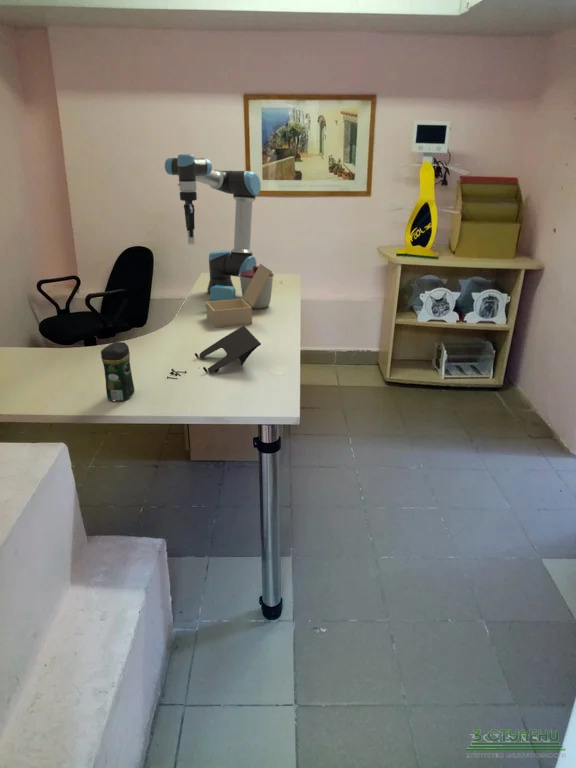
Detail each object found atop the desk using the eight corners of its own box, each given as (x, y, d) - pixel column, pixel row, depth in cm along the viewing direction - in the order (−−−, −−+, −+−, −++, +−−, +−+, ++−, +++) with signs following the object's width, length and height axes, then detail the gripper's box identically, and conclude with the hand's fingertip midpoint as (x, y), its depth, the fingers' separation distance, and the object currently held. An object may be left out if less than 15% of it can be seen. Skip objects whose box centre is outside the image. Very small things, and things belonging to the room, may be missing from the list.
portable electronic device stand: (203, 368, 231) (192, 350, 227) (251, 339, 234) (241, 321, 229) (217, 390, 211) (204, 371, 207) (269, 358, 214) (258, 338, 209)
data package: (236, 309, 288) (235, 286, 283) (232, 312, 284) (231, 288, 279) (214, 307, 291) (213, 284, 287) (210, 310, 288) (209, 286, 283)
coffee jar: (116, 389, 197) (109, 339, 190) (137, 391, 196) (131, 340, 188) (103, 401, 188) (95, 349, 181) (125, 403, 187) (119, 350, 180)
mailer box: (206, 318, 275) (206, 301, 272) (242, 314, 280) (242, 298, 277) (214, 327, 261) (213, 310, 258) (252, 323, 267) (251, 307, 263)
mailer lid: (260, 263, 274) (261, 264, 274) (242, 297, 277) (243, 298, 278) (270, 270, 260) (271, 271, 260) (252, 306, 263) (253, 306, 263)
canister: (252, 313, 283) (252, 271, 274) (232, 305, 295) (231, 264, 287) (281, 307, 293) (281, 266, 284) (260, 299, 306) (260, 260, 297)
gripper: (177, 190, 261) (180, 242, 270) (182, 192, 250) (185, 246, 259) (193, 189, 263) (196, 241, 273) (199, 192, 252) (202, 246, 261)
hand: (191, 244), depth 266 cm, fingers closed
